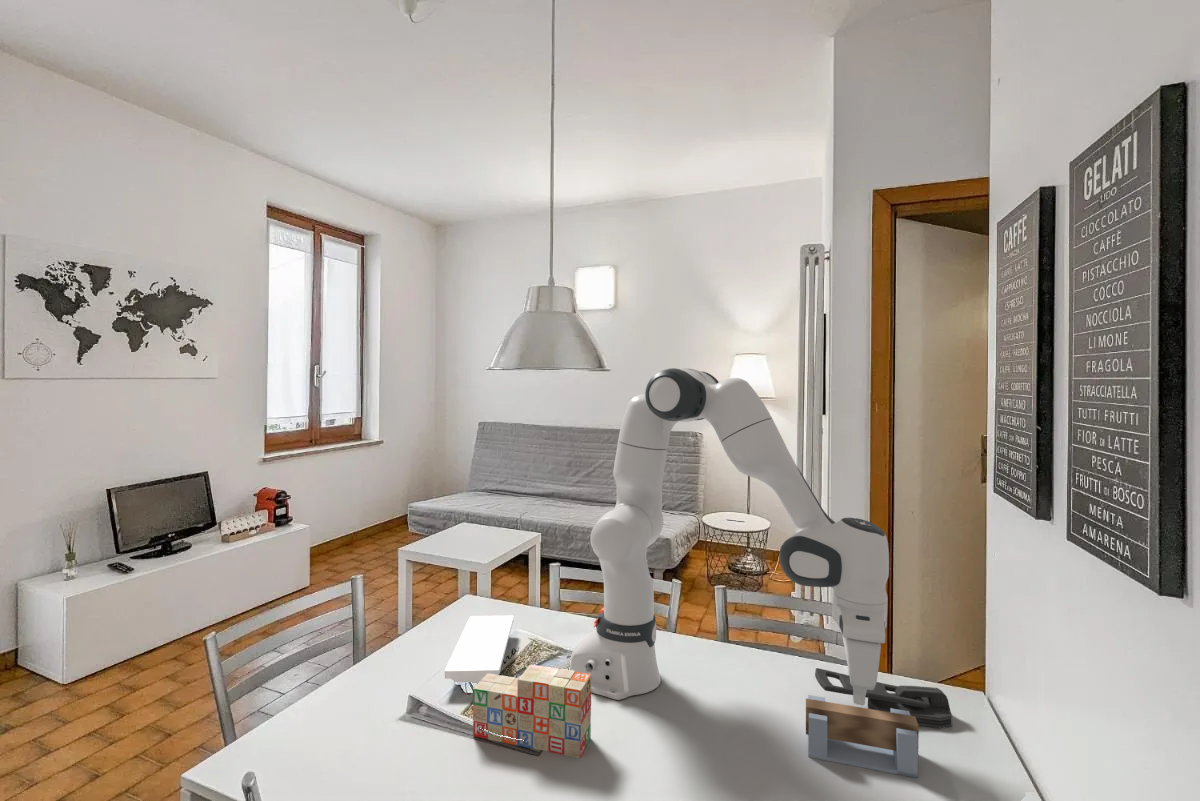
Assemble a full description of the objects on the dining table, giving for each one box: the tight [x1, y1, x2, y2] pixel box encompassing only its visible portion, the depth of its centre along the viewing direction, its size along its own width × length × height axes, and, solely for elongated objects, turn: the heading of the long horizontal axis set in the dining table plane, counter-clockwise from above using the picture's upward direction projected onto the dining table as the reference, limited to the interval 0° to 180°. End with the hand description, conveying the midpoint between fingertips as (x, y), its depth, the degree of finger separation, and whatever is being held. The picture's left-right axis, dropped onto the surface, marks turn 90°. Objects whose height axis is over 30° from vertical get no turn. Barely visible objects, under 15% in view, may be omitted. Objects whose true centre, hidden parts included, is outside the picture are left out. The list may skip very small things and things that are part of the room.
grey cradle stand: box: [807, 694, 919, 779], centre depth 102 cm, size 17×8×7 cm, turn 71°
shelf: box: [444, 615, 515, 683], centre depth 137 cm, size 12×30×5 cm, turn 3°
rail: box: [805, 698, 920, 751], centre depth 102 cm, size 18×3×5 cm, turn 71°
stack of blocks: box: [472, 664, 592, 759], centre depth 107 cm, size 21×6×12 cm, turn 73°
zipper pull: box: [814, 667, 953, 730], centre depth 116 cm, size 9×7×25 cm
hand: (856, 689), depth 102 cm, fingers open, 8 cm apart
